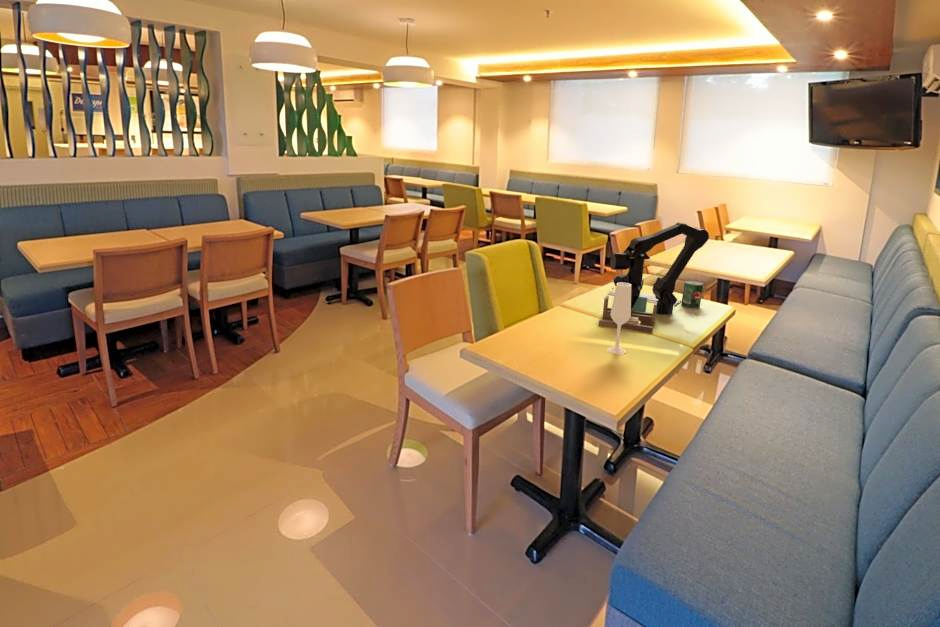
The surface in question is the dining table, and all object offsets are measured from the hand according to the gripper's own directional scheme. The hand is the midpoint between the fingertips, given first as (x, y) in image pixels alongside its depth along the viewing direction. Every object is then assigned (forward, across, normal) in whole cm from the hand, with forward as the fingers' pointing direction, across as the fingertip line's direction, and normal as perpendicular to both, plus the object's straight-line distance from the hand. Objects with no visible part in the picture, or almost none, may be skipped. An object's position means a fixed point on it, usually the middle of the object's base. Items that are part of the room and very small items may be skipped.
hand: (631, 306), depth 225 cm
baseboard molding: (+5, -30, +3) cm, 31 cm away
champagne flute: (+4, +44, 0) cm, 44 cm away
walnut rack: (+4, +13, 0) cm, 14 cm away
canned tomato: (+5, -27, +24) cm, 36 cm away
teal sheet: (+4, 0, 0) cm, 4 cm away
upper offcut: (+2, +18, 0) cm, 18 cm away
